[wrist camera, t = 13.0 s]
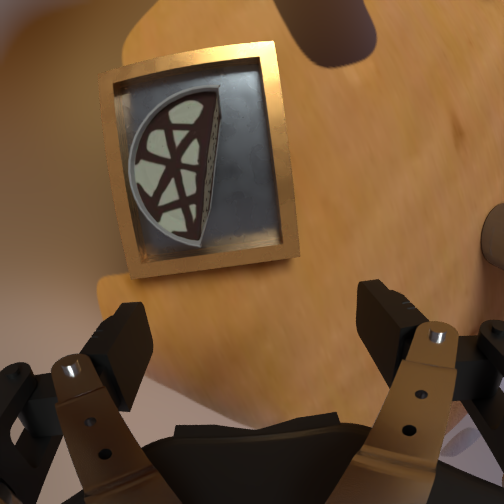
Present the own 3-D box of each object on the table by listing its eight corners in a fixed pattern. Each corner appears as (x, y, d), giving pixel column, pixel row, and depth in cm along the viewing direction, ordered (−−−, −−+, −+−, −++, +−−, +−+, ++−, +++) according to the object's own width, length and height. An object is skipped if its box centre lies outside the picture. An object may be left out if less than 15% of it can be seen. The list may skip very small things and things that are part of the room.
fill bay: (269, 53, 29) (273, 41, 25) (293, 245, 35) (300, 256, 31) (111, 81, 29) (97, 73, 25) (141, 266, 35) (131, 279, 31)
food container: (162, 98, 29) (132, 76, 19) (224, 102, 29) (219, 79, 20) (150, 218, 32) (117, 245, 22) (209, 224, 33) (199, 253, 23)
